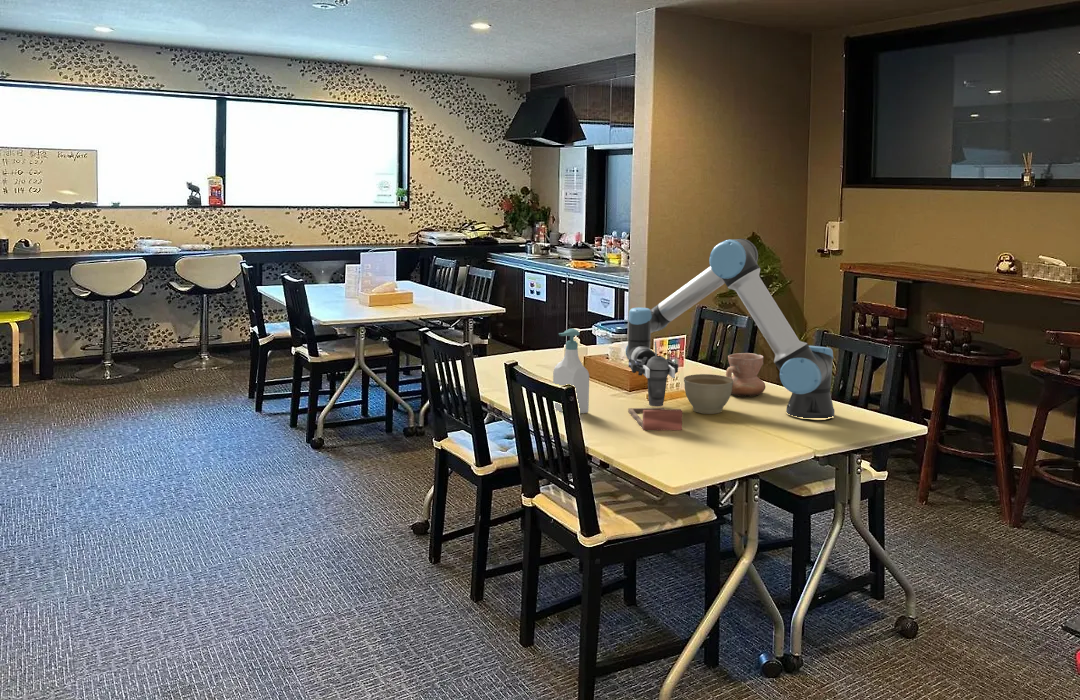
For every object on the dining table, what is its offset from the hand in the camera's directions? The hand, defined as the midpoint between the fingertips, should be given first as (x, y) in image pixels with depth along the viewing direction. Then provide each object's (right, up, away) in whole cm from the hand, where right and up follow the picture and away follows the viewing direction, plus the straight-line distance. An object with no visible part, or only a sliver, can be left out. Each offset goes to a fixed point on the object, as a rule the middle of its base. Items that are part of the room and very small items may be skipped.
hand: (661, 373), depth 279 cm
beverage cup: (-1, -10, +7) cm, 12 cm away
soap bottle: (-28, -13, +21) cm, 37 cm away
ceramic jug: (+36, -9, +49) cm, 61 cm away
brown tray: (-1, -15, +11) cm, 19 cm away
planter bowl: (+18, -13, +24) cm, 33 cm away
